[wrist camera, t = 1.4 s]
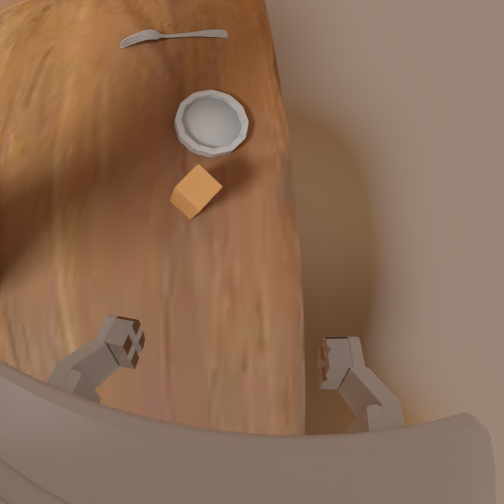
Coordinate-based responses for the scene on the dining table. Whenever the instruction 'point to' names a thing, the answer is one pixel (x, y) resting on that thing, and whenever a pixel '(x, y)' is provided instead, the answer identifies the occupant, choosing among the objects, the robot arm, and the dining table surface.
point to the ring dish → (211, 123)
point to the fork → (173, 35)
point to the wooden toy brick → (194, 191)
